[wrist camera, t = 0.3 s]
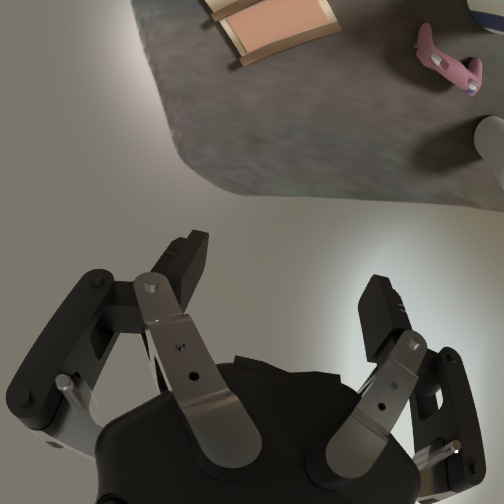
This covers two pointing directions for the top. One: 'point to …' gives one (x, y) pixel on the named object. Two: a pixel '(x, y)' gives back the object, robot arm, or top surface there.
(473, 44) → the top surface
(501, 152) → the can
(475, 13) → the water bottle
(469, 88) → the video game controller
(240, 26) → the slot rack
